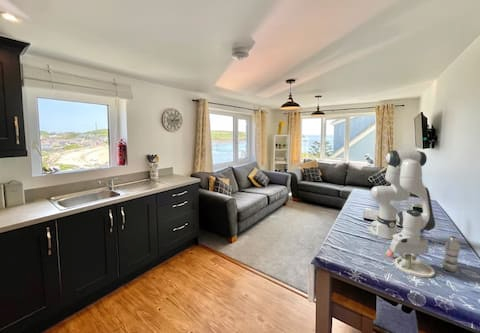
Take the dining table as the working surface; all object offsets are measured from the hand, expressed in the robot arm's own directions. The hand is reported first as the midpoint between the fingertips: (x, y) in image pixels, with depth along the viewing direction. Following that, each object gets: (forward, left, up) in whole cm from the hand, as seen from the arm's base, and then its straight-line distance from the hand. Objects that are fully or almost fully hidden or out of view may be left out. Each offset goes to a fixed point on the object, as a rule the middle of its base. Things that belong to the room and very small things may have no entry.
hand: (407, 259), depth 133 cm
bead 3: (+5, -5, -2) cm, 7 cm away
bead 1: (-7, -6, -3) cm, 10 cm away
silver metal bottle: (+5, +20, -4) cm, 21 cm away
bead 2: (0, 0, -2) cm, 2 cm away
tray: (+5, 0, -3) cm, 6 cm away
